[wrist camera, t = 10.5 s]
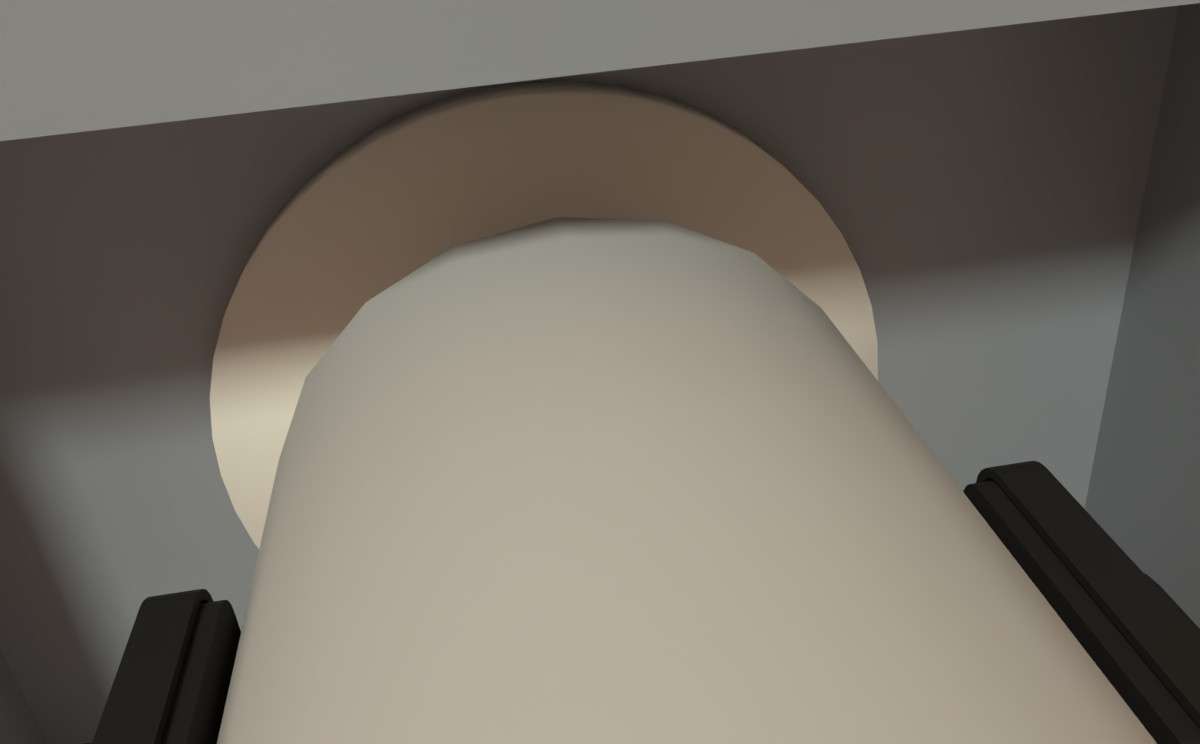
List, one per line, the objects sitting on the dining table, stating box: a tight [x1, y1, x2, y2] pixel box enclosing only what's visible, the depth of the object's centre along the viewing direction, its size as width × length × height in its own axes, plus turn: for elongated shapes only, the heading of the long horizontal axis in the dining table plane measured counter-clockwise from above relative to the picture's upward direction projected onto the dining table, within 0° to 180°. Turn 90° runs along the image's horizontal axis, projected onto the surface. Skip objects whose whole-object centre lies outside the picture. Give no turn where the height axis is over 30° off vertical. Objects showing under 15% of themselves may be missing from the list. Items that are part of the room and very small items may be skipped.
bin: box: [0, 0, 1200, 744], centre depth 14 cm, size 20×14×6 cm
